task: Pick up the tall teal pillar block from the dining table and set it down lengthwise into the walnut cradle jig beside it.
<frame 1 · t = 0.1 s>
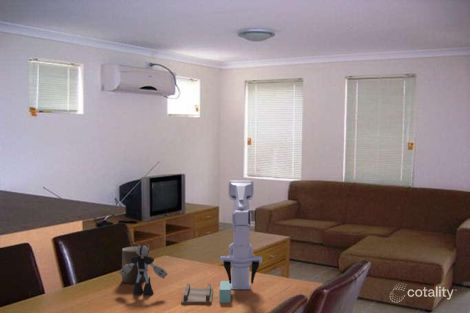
hand: (241, 282, 176), 10 cm above the table, fingers open, 7 cm apart
tall teal pillar block: (225, 298, 191), on the table
robot: (143, 294, 195), on the table
pillar candle: (133, 281, 212), on the table
cradle: (197, 297, 191), on the table
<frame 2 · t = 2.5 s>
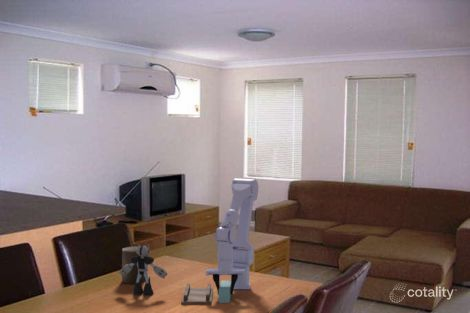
hand: (225, 293, 191), 1 cm above the table, fingers closed on tall teal pillar block, 4 cm apart
tall teal pillar block: (225, 297, 190), on the table, touching gripper
everything else where it was.
when the fingers open (4 cm above the table, at t = 5.9 s): tall teal pillar block stays where it is, resting on cradle.
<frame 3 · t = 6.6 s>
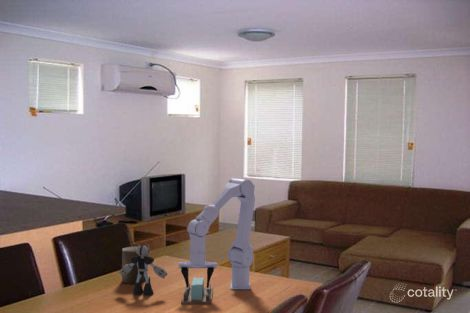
hand: (197, 286, 191), 4 cm above the table, fingers open, 7 cm apart
tall teal pillar block: (197, 294, 191), point 1 cm above the table, touching cradle
everything else where it was.
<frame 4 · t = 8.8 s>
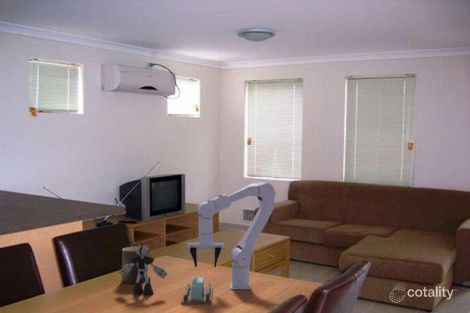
hand: (205, 266, 200), 9 cm above the table, fingers open, 7 cm apart
nothing on the table moved.
at the end: tall teal pillar block 0.4 cm off-centre on the cradle, point 1.0 cm above the cradle's base; tall teal pillar block tilted 0°; the gripper is holding nothing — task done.
